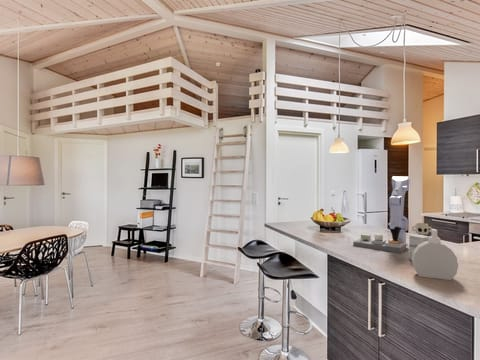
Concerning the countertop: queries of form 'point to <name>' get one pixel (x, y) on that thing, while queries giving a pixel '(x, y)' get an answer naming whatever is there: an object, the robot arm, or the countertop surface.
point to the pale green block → (365, 236)
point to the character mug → (421, 228)
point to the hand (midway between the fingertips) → (395, 239)
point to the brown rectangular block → (395, 241)
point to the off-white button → (378, 237)
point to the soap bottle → (434, 259)
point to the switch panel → (380, 245)
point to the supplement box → (415, 242)
